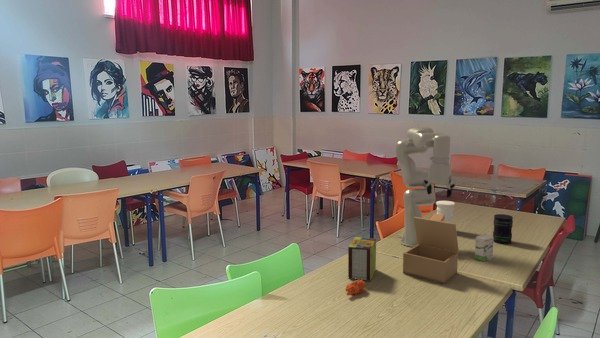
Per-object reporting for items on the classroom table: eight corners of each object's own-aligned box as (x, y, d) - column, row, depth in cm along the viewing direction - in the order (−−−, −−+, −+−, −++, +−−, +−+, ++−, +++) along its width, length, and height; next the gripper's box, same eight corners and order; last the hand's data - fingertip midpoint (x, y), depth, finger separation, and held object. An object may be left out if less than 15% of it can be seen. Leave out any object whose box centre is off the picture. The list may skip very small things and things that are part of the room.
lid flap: (413, 217, 213) (419, 210, 217) (417, 244, 220) (423, 236, 224) (455, 224, 200) (460, 216, 205) (458, 252, 207) (463, 244, 212)
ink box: (482, 261, 222) (484, 239, 221) (474, 258, 227) (475, 236, 225) (493, 258, 227) (494, 236, 225) (484, 255, 231) (485, 233, 229)
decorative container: (456, 229, 277) (457, 201, 274) (451, 234, 267) (452, 205, 264) (437, 227, 283) (438, 199, 280) (432, 231, 273) (433, 203, 270)
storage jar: (492, 243, 250) (494, 217, 248) (492, 238, 259) (493, 213, 257) (512, 245, 247) (513, 219, 244) (510, 240, 256) (512, 215, 253)
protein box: (375, 269, 214) (376, 238, 212) (370, 281, 200) (370, 248, 198) (354, 266, 218) (355, 236, 215) (347, 278, 203) (347, 246, 201)
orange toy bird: (350, 285, 182) (367, 277, 191) (337, 286, 187) (353, 278, 196) (353, 298, 182) (370, 288, 190) (340, 298, 187) (356, 289, 196)
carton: (402, 273, 209) (403, 253, 207) (417, 263, 221) (417, 244, 220) (444, 284, 196) (445, 262, 195) (457, 272, 209) (458, 252, 207)
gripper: (420, 159, 215) (418, 194, 218) (455, 163, 204) (453, 199, 207) (426, 157, 220) (425, 191, 223) (461, 161, 209) (459, 196, 213)
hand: (438, 195), depth 215 cm, fingers open, 9 cm apart
